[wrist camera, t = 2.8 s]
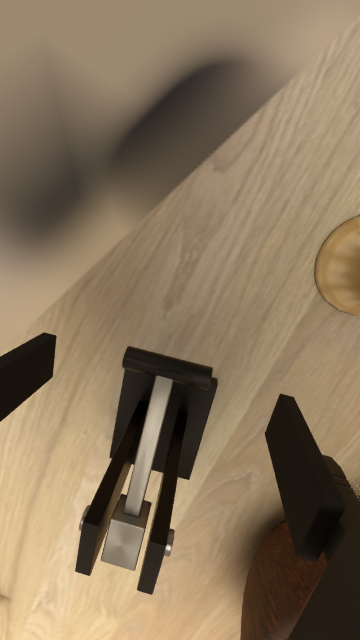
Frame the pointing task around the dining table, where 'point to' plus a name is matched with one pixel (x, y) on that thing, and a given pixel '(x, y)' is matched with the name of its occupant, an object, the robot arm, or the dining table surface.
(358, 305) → the hand bell
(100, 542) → the bracket
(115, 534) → the lever
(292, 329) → the dining table surface
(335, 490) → the robot arm
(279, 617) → the wooden bowl
